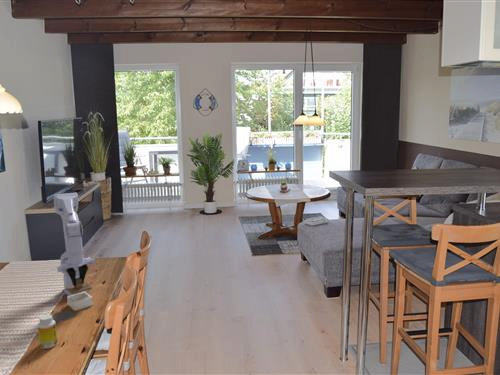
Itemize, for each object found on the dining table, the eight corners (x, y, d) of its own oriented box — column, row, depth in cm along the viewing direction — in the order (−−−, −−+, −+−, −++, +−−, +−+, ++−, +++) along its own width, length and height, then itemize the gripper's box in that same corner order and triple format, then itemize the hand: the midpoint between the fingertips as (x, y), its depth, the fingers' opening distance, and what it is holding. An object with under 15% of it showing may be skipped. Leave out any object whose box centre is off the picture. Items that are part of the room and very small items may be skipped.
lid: (65, 289, 185) (64, 278, 185) (84, 284, 190) (83, 274, 190) (72, 294, 179) (71, 283, 179) (91, 289, 184) (90, 278, 184)
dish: (67, 305, 187) (67, 296, 186) (85, 300, 191) (85, 291, 191) (74, 311, 181) (73, 302, 180) (92, 306, 186) (92, 296, 185)
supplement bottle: (58, 346, 154) (55, 318, 152) (40, 350, 151) (36, 322, 150) (57, 339, 159) (54, 312, 157) (39, 343, 156) (36, 315, 155)
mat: (48, 316, 177) (48, 316, 177) (69, 310, 182) (69, 310, 182) (55, 323, 171) (55, 323, 171) (76, 317, 176) (76, 316, 176)
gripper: (60, 258, 175) (63, 291, 177) (96, 250, 184) (99, 282, 186) (54, 254, 180) (57, 286, 182) (90, 246, 189) (92, 277, 192)
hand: (78, 284), depth 185 cm, fingers closed on lid, 2 cm apart
